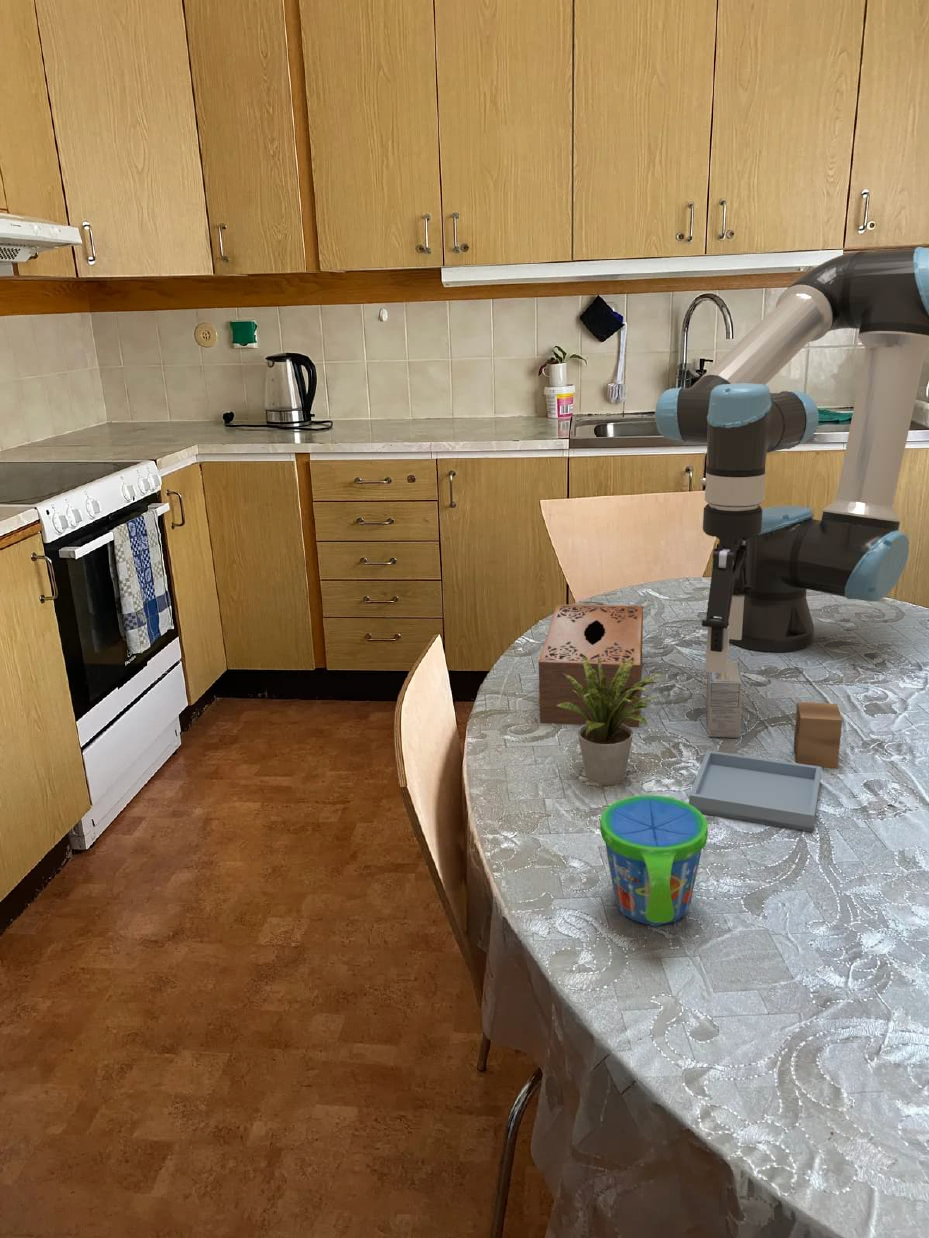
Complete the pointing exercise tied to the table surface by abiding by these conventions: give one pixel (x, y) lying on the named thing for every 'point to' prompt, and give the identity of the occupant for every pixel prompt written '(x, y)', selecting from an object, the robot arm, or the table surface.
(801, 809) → the grey tray
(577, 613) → the tissue box cover
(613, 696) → the house plant
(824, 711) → the walnut block
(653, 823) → the snack cup
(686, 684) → the table surface
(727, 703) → the medicine box
